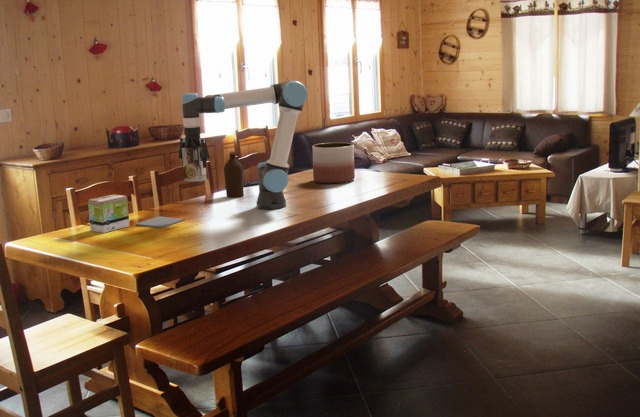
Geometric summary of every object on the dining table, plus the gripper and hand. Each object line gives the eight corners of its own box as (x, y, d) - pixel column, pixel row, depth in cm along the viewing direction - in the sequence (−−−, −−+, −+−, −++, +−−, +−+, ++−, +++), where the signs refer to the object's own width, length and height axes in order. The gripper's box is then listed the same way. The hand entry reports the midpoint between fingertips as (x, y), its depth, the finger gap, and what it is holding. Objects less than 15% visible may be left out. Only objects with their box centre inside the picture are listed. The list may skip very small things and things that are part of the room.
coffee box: (207, 179, 323) (205, 145, 319) (200, 181, 317) (198, 147, 313) (190, 178, 326) (188, 145, 322) (183, 181, 320) (181, 147, 316)
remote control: (224, 188, 403) (224, 185, 403) (270, 181, 421) (270, 178, 420) (230, 190, 397) (230, 187, 397) (276, 183, 415) (276, 180, 414)
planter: (355, 183, 400) (354, 146, 395) (312, 185, 401) (311, 148, 396) (354, 176, 425) (353, 141, 420) (313, 178, 425) (312, 143, 421)
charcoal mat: (184, 220, 322) (184, 218, 322) (162, 228, 308) (161, 226, 308) (159, 217, 330) (158, 216, 329) (135, 225, 316) (135, 223, 316)
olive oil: (232, 199, 369) (229, 153, 363) (222, 196, 377) (218, 152, 371) (248, 196, 375) (245, 151, 370) (238, 193, 383) (235, 149, 378)
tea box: (105, 233, 303) (101, 201, 300) (90, 231, 308) (86, 199, 305) (130, 226, 315) (127, 195, 312) (115, 224, 320) (112, 193, 317)
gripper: (215, 126, 314) (218, 173, 318) (178, 125, 324) (182, 171, 329) (205, 127, 307) (209, 176, 312) (168, 127, 318) (171, 173, 323)
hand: (195, 173), depth 320 cm, fingers closed on coffee box, 10 cm apart
